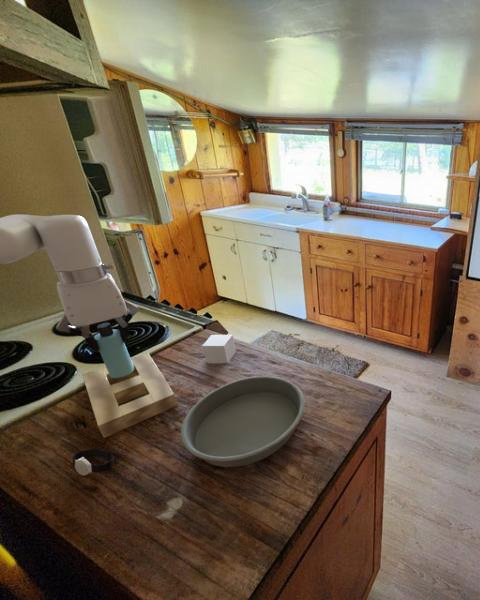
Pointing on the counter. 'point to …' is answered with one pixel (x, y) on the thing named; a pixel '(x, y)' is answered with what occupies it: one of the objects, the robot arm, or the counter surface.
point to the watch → (85, 467)
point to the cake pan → (243, 421)
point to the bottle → (113, 351)
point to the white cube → (219, 348)
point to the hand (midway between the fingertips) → (110, 343)
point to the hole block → (128, 395)
